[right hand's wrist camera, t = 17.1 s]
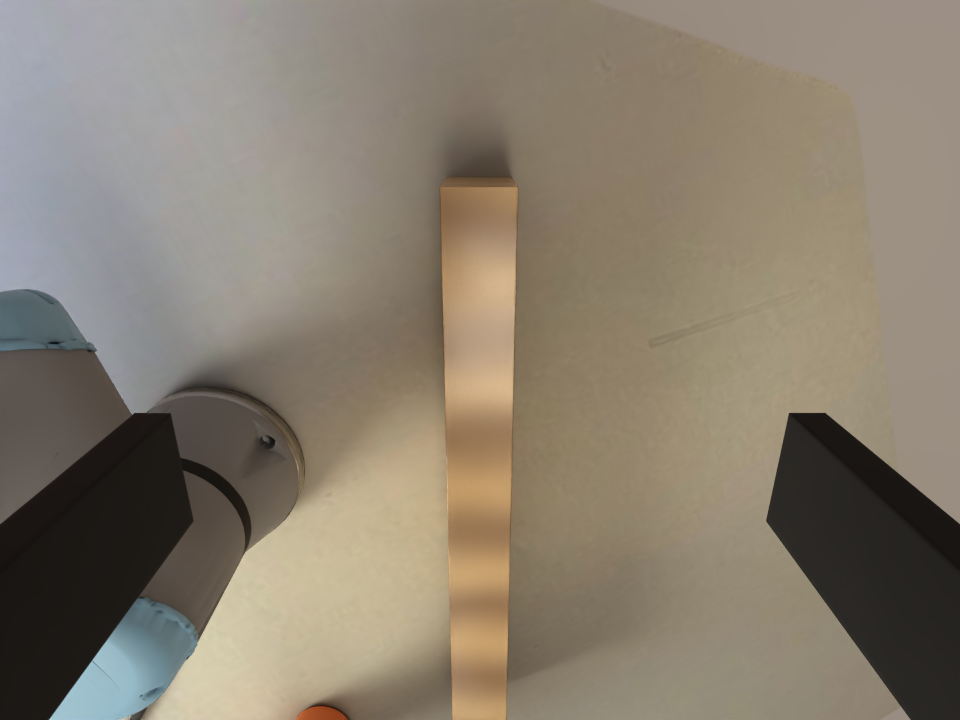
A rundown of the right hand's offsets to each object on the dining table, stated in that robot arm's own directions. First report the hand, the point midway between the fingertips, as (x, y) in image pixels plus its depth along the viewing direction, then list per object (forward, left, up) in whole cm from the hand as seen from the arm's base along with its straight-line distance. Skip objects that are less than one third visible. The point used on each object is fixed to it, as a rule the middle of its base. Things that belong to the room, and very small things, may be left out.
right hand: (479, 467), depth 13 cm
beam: (-23, -5, -36) cm, 43 cm away
